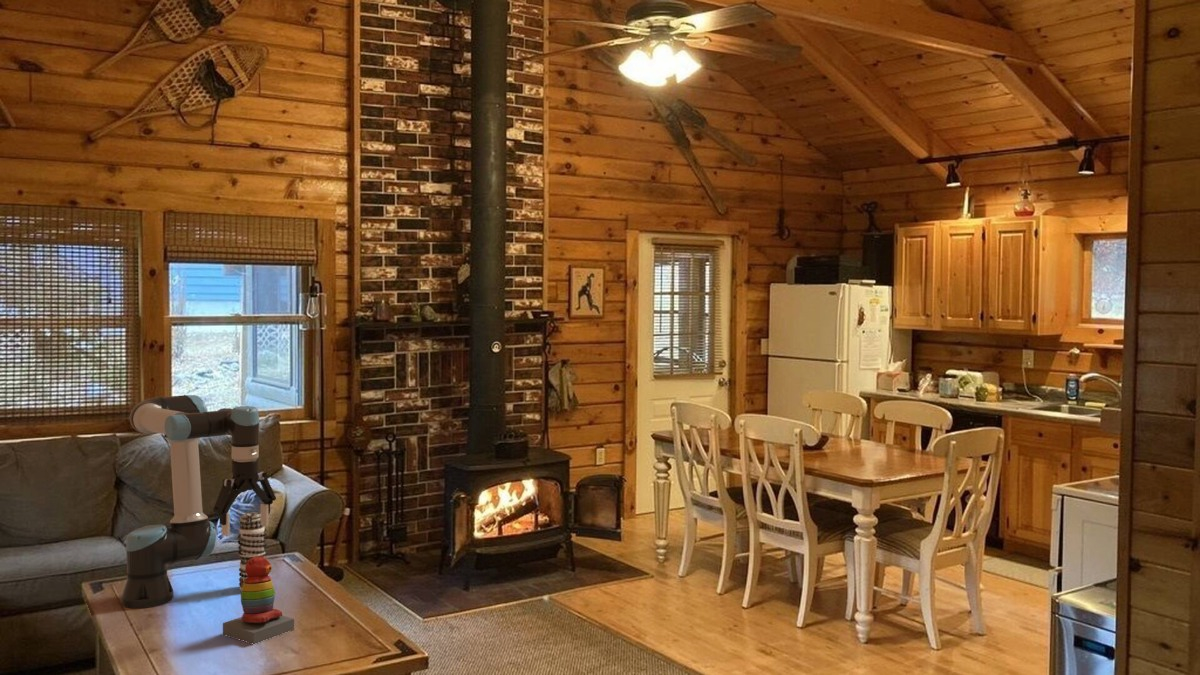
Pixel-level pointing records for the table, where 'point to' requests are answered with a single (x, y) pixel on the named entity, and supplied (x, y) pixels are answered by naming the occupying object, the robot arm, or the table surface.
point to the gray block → (257, 628)
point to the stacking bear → (258, 592)
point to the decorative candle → (250, 541)
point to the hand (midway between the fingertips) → (245, 530)
